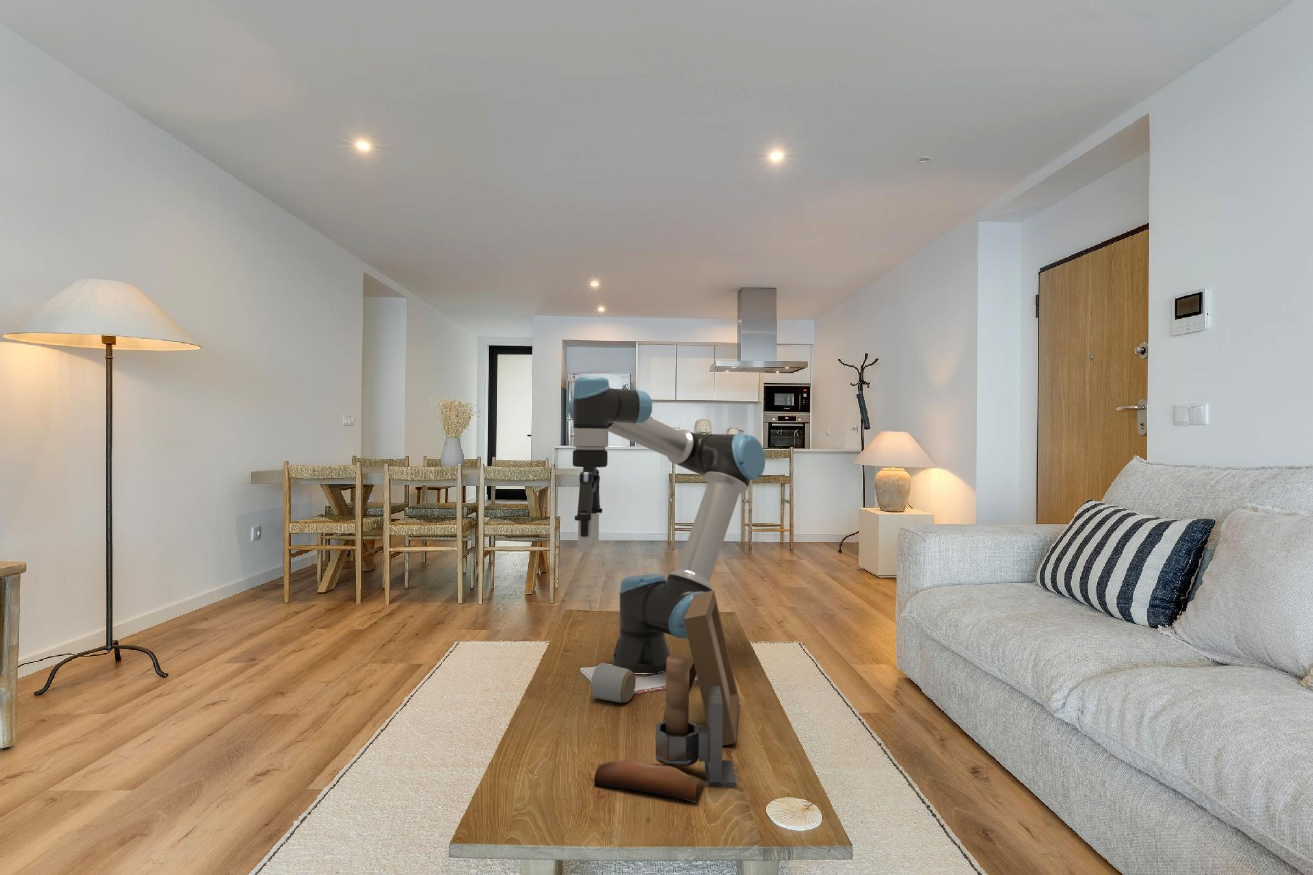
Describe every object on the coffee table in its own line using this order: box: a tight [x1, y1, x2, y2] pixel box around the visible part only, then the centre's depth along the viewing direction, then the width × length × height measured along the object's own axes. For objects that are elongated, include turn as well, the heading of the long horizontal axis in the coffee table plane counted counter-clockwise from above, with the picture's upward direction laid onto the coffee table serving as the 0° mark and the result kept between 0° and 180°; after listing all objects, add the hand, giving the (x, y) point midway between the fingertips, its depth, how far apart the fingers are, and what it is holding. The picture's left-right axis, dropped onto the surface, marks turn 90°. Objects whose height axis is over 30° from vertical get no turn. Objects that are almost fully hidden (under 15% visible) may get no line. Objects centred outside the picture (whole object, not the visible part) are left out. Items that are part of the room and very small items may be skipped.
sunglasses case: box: [593, 759, 706, 805], centre depth 115 cm, size 18×7×7 cm
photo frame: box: [662, 589, 741, 746], centre depth 141 cm, size 15×22×25 cm
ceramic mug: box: [590, 662, 637, 704], centre depth 154 cm, size 11×8×8 cm
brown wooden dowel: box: [665, 654, 690, 736], centre depth 119 cm, size 4×4×16 cm
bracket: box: [655, 686, 738, 788], centre depth 119 cm, size 14×8×14 cm, turn 89°
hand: (588, 547), depth 148 cm, fingers open, 13 cm apart
